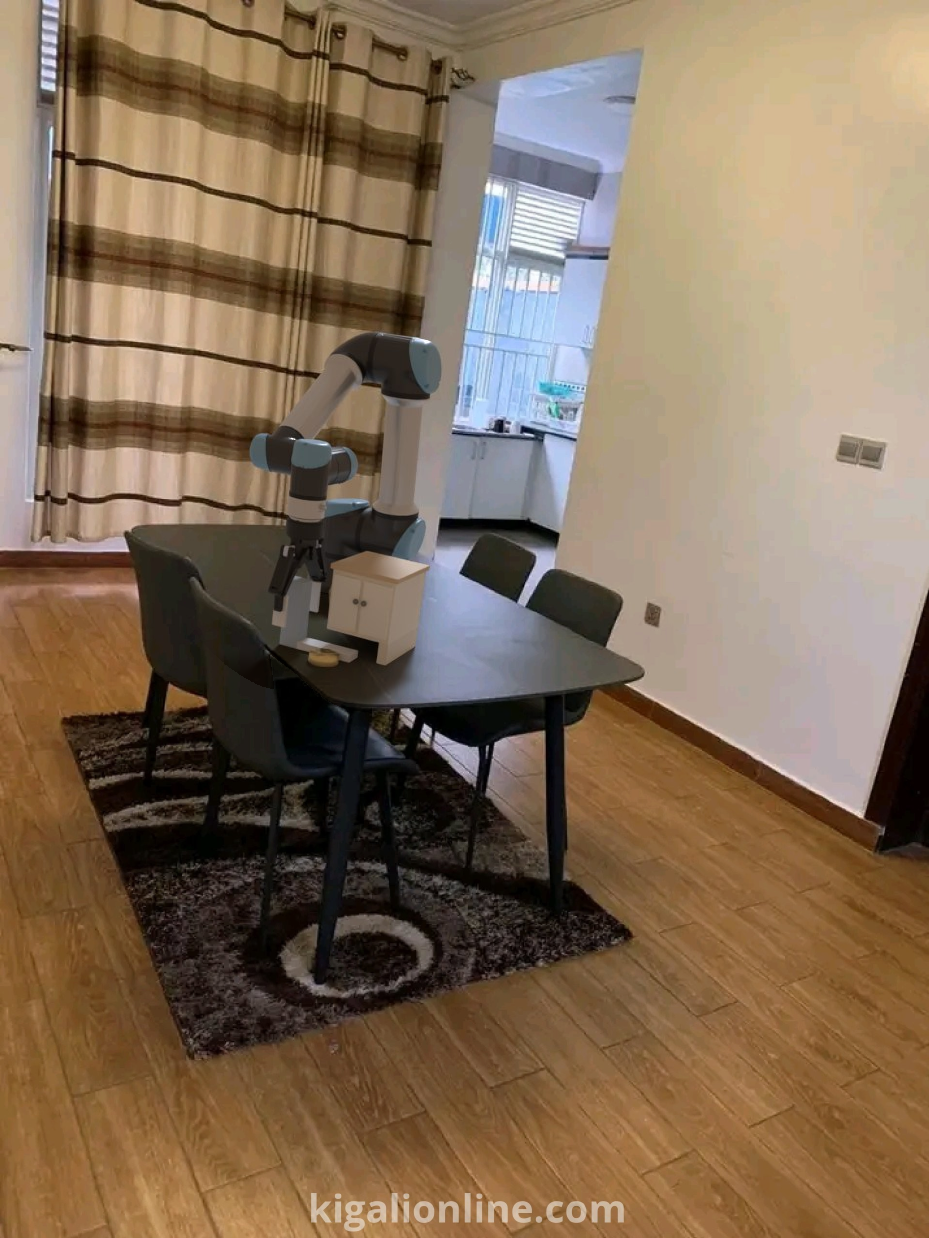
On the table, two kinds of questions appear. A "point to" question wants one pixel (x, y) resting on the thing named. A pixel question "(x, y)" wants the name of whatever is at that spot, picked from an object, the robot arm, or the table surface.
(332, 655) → the token
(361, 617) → the cabinet
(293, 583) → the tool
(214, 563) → the table surface
